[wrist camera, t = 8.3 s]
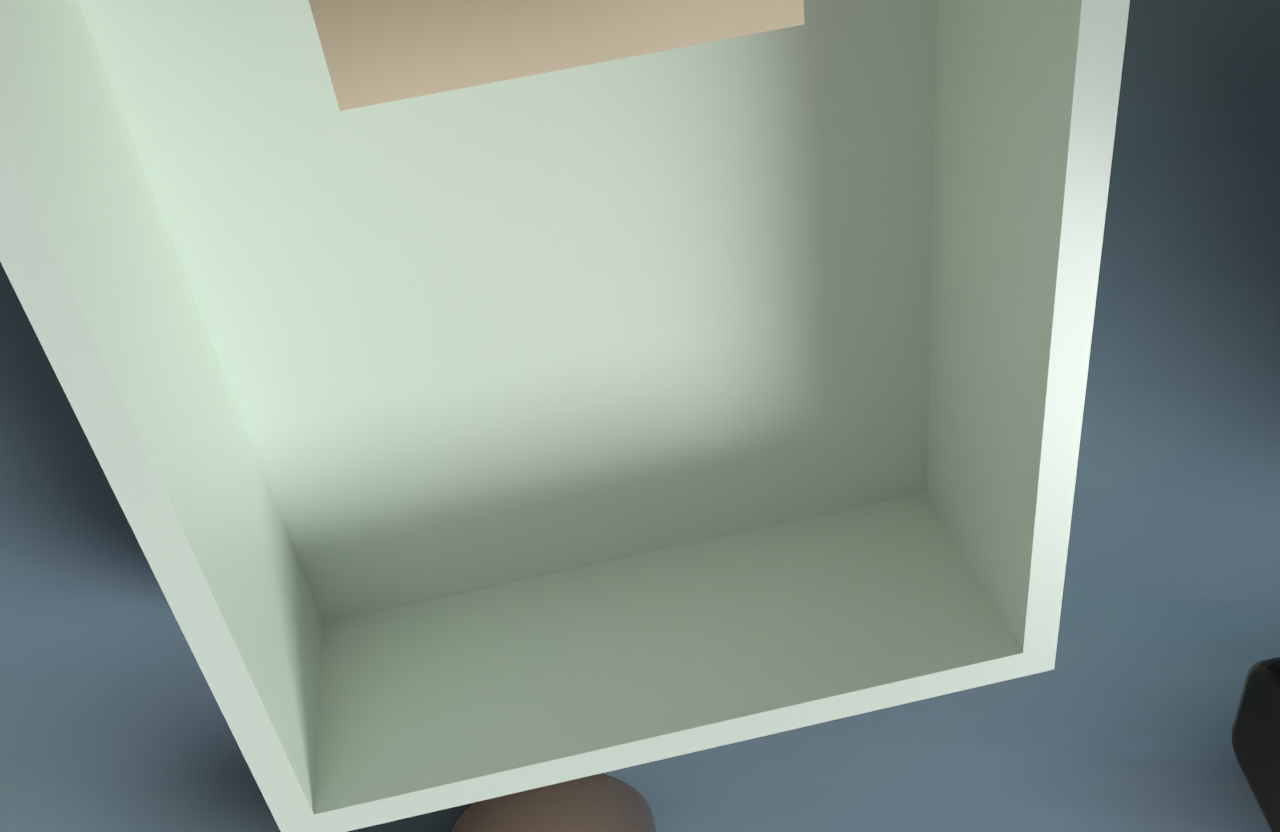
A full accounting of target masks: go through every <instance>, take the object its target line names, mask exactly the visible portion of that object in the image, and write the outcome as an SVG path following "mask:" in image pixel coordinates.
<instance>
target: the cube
mask: <svg viewBox="0 0 1280 832" xmlns="http://www.w3.org/2000/svg"><path fill="white" fill-rule="evenodd" d="M309 4H310V7H311V11H312V14H313V18H314V21H315V25H316V28H317V32H318V35H319V39H320V42H321V46H322V50H323V53H324V57H325V60H326V64H327V67H328V71H329V74H330V78H331V81H332V85H333V88H334V92H335V95H336V99H337V103H338V106H339V110H340V111H343V110H348V109H354V108H359V107H365V106H370V105H375V104H381V103H386V102H391V101H397V100H402V99H407V98H413V97H418V96H424V95H429V94H434V93H440V92H445V91H450V90H456V89H461V88H466V87H472V86H477V85H482V84H488V83H493V82H499V81H504V80H509V79H515V78H520V77H525V76H531V75H536V74H541V73H547V72H552V71H557V70H563V69H568V68H574V67H579V66H584V65H590V64H595V63H600V62H606V61H611V60H616V59H622V58H627V57H632V56H638V55H643V54H649V53H654V52H659V51H665V50H670V49H675V48H681V47H686V46H691V45H697V44H702V43H708V42H713V41H718V40H724V39H729V38H734V37H740V36H745V35H750V34H756V33H761V32H766V31H772V30H777V29H783V28H788V27H793V26H799V25H804V24H805V21H804V0H309Z"/></svg>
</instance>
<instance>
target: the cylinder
mask: <svg viewBox="0 0 1280 832" xmlns="http://www.w3.org/2000/svg"><path fill="white" fill-rule="evenodd" d="M450 832H656V828H655V824H654V820H653V816H652V812H651V809H650V807H649V805H648V804H647V802H646V800H645V799H644V798H643V797H642V796H641V794H639V793H638V792H637V791H636V790H635V789H633V788H632V787H630V786H629V785H627V784H625V783H624V782H622V781H619V780H617V779H615V778H612V777H608V776H605V775H602V774H596V775H592V776H587V777H583V778H579V779H574V780H570V781H565V782H561V783H557V784H552V785H548V786H544V787H539V788H535V789H531V790H526V791H522V792H518V793H513V794H509V795H505V796H500V797H496V798H491V799H487V800H483V801H478V802H474V803H473V804H472V805H471V806H470V807H469V808H468V809H467V810H465V811H464V812H463V814H462V815H461V816H460V817H459V818H458V820H457V821H456V822H455V824H454V826H453V828H452V829H451V831H450Z"/></svg>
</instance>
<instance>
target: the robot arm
mask: <svg viewBox="0 0 1280 832" xmlns="http://www.w3.org/2000/svg"><path fill="white" fill-rule="evenodd" d="M1232 743H1233V749H1234V752H1235V755H1236V758H1237V761H1238V763H1239V765H1240V767H1241V769H1242V771H1243V774H1244V776H1245V778H1246V780H1247V782H1248V784H1249V786H1250V788H1251V790H1252V792H1253V794H1254V796H1255V798H1256V800H1257V802H1258V804H1259V806H1260V808H1261V811H1262V813H1263V815H1264V817H1265V819H1266V821H1267V823H1268V825H1269V827H1270V829H1271V831H1272V832H1280V657H1278V658H1273V659H1268V660H1263V661H1260V662H1257V663H1255V664H1254V665H1253V666H1252V667H1251V668H1250V669H1249V671H1248V674H1247V677H1246V680H1245V684H1244V688H1243V691H1242V695H1241V698H1240V702H1239V706H1238V709H1237V713H1236V716H1235V720H1234V723H1233V728H1232Z"/></svg>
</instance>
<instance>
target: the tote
mask: <svg viewBox="0 0 1280 832" xmlns="http://www.w3.org/2000/svg"><path fill="white" fill-rule="evenodd" d="M1129 4H1130V0H804V21H805V24H804V25H799V26H793V27H788V28H783V29H777V30H772V31H766V32H761V33H756V34H750V35H745V36H740V37H734V38H729V39H724V40H718V41H713V42H708V43H702V44H697V45H691V46H686V47H681V48H675V49H670V50H665V51H659V52H654V53H649V54H643V55H638V56H632V57H627V58H622V59H616V60H611V61H606V62H600V63H595V64H590V65H584V66H579V67H574V68H568V69H563V70H557V71H552V72H547V73H541V74H536V75H531V76H525V77H520V78H515V79H509V80H504V81H499V82H493V83H488V84H482V85H477V86H472V87H466V88H461V89H456V90H450V91H445V92H440V93H434V94H429V95H424V96H418V97H413V98H407V99H402V100H397V101H391V102H386V103H381V104H375V105H370V106H365V107H359V108H354V109H348V110H343V111H340V110H339V106H338V103H337V99H336V95H335V92H334V88H333V85H332V81H331V78H330V74H329V71H328V67H327V64H326V60H325V57H324V53H323V50H322V46H321V42H320V39H319V35H318V32H317V28H316V25H315V21H314V18H313V14H312V11H311V7H310V4H309V0H0V262H1V264H2V266H3V268H4V270H5V272H6V274H7V276H8V278H9V280H10V282H11V284H12V286H13V288H14V290H15V292H16V295H17V297H18V299H19V301H20V303H21V305H22V307H23V309H24V311H25V313H26V315H27V317H28V319H29V321H30V323H31V325H32V327H33V329H34V331H35V333H36V335H37V337H38V339H39V341H40V343H41V345H42V347H43V349H44V351H45V353H46V356H47V358H48V360H49V362H50V364H51V366H52V368H53V370H54V372H55V374H56V376H57V378H58V380H59V382H60V384H61V386H62V388H63V390H64V392H65V394H66V396H67V398H68V400H69V402H70V404H71V406H72V408H73V410H74V412H75V414H76V417H77V419H78V421H79V423H80V425H81V427H82V429H83V431H84V433H85V435H86V437H87V439H88V441H89V443H90V445H91V447H92V449H93V451H94V453H95V455H96V457H97V459H98V461H99V463H100V465H101V467H102V469H103V471H104V473H105V475H106V477H107V480H108V482H109V484H110V486H111V488H112V490H113V492H114V494H115V496H116V498H117V500H118V502H119V504H120V506H121V508H122V510H123V512H124V514H125V516H126V518H127V520H128V522H129V524H130V526H131V528H132V530H133V532H134V534H135V536H136V538H137V541H138V543H139V545H140V547H141V549H142V551H143V553H144V555H145V557H146V559H147V561H148V563H149V565H150V567H151V569H152V571H153V573H154V575H155V577H156V579H157V581H158V583H159V585H160V587H161V589H162V591H163V593H164V595H165V597H166V599H167V601H168V604H169V606H170V608H171V610H172V612H173V614H174V616H175V618H176V620H177V622H178V624H179V626H180V628H181V630H182V632H183V634H184V636H185V638H186V640H187V642H188V644H189V646H190V648H191V650H192V652H193V654H194V656H195V658H196V660H197V662H198V665H199V667H200V669H201V671H202V673H203V675H204V677H205V679H206V681H207V683H208V685H209V687H210V689H211V691H212V693H213V695H214V697H215V699H216V701H217V703H218V705H219V707H220V709H221V711H222V713H223V715H224V717H225V719H226V721H227V723H228V726H229V728H230V730H231V732H232V734H233V736H234V738H235V740H236V742H237V744H238V746H239V748H240V750H241V752H242V754H243V756H244V758H245V760H246V762H247V764H248V766H249V768H250V770H251V772H252V774H253V776H254V778H255V780H256V782H257V784H258V786H259V789H260V791H261V793H262V795H263V797H264V799H265V801H266V803H267V805H268V807H269V809H270V811H271V813H272V815H273V817H274V819H275V821H276V823H277V825H278V827H279V829H280V831H281V832H348V831H352V830H356V829H361V828H365V827H369V826H374V825H378V824H383V823H387V822H391V821H396V820H400V819H404V818H409V817H413V816H417V815H422V814H426V813H430V812H435V811H439V810H444V809H448V808H452V807H457V806H461V805H465V804H470V803H474V802H478V801H483V800H487V799H491V798H496V797H500V796H505V795H509V794H513V793H518V792H522V791H526V790H531V789H535V788H539V787H544V786H548V785H552V784H557V783H561V782H565V781H570V780H574V779H579V778H583V777H587V776H592V775H596V774H600V773H605V772H609V771H613V770H618V769H622V768H626V767H631V766H635V765H640V764H644V763H648V762H653V761H657V760H661V759H666V758H670V757H674V756H679V755H683V754H687V753H692V752H696V751H701V750H705V749H709V748H714V747H718V746H722V745H727V744H731V743H735V742H740V741H744V740H748V739H753V738H757V737H761V736H766V735H770V734H775V733H779V732H783V731H788V730H792V729H796V728H801V727H805V726H809V725H814V724H818V723H822V722H827V721H831V720H836V719H840V718H844V717H849V716H853V715H857V714H862V713H866V712H870V711H875V710H879V709H883V708H888V707H892V706H897V705H901V704H905V703H910V702H914V701H918V700H923V699H927V698H931V697H936V696H940V695H944V694H949V693H953V692H958V691H962V690H966V689H971V688H975V687H979V686H984V685H988V684H992V683H997V682H1001V681H1005V680H1010V679H1014V678H1018V677H1023V676H1027V675H1032V674H1036V673H1040V672H1045V671H1049V670H1053V669H1054V666H1055V657H1056V648H1057V639H1058V631H1059V622H1060V613H1061V604H1062V595H1063V586H1064V578H1065V569H1066V560H1067V551H1068V542H1069V534H1070V525H1071V516H1072V507H1073V498H1074V489H1075V481H1076V472H1077V463H1078V454H1079V445H1080V437H1081V428H1082V419H1083V410H1084V401H1085V392H1086V384H1087V375H1088V366H1089V357H1090V348H1091V340H1092V331H1093V322H1094V313H1095V304H1096V295H1097V287H1098V278H1099V269H1100V260H1101V251H1102V243H1103V234H1104V225H1105V216H1106V207H1107V198H1108V190H1109V181H1110V172H1111V163H1112V154H1113V146H1114V137H1115V128H1116V119H1117V110H1118V101H1119V93H1120V84H1121V75H1122V66H1123V57H1124V49H1125V40H1126V31H1127V22H1128V13H1129Z"/></svg>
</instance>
